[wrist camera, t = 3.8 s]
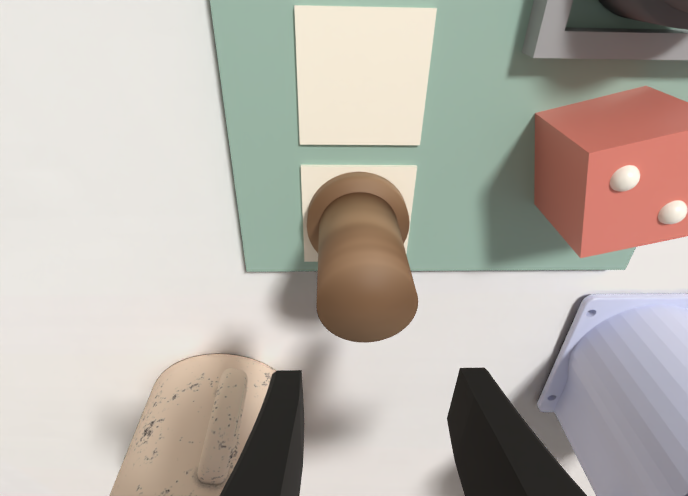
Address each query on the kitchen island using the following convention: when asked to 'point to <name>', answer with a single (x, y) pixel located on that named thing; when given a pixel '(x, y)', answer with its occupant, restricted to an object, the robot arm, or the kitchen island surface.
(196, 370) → the teacup with lid
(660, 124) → the die
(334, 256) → the flanged wooden peg
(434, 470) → the kitchen island surface
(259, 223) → the board
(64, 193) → the kitchen island surface
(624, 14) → the dark gray round knob
